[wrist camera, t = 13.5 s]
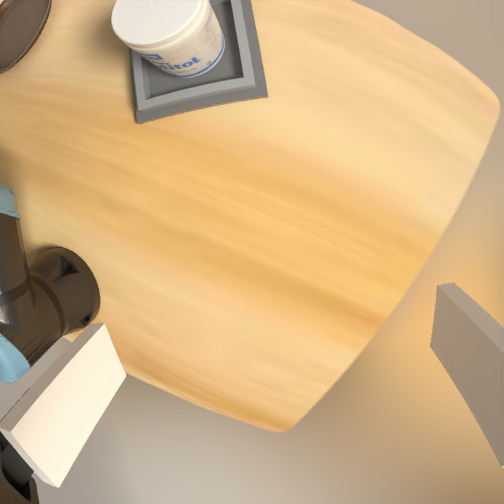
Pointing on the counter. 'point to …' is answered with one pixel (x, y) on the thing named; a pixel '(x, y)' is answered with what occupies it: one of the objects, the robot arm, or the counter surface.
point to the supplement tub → (171, 34)
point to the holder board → (213, 81)
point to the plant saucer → (20, 28)
